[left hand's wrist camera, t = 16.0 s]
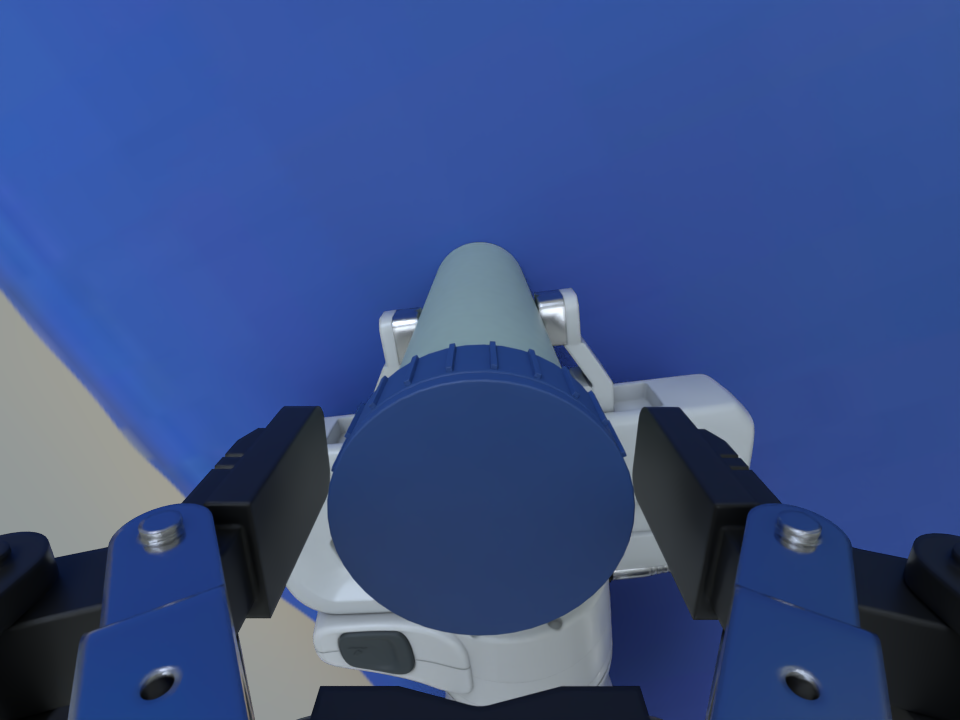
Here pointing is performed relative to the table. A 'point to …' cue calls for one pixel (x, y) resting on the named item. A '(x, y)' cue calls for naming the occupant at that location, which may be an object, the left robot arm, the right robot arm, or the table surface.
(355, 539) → the lid
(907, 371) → the table surface
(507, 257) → the jar
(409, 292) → the table surface
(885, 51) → the table surface
